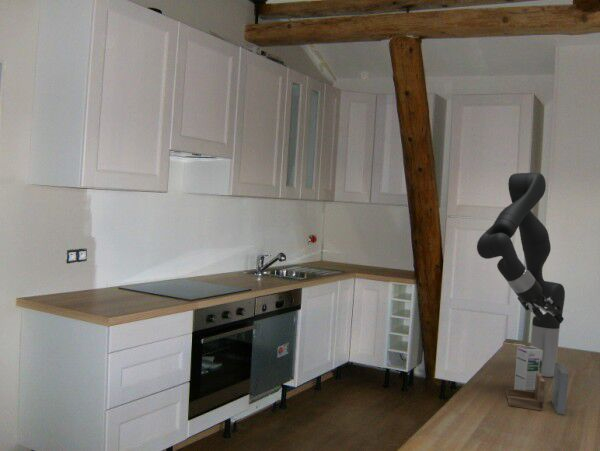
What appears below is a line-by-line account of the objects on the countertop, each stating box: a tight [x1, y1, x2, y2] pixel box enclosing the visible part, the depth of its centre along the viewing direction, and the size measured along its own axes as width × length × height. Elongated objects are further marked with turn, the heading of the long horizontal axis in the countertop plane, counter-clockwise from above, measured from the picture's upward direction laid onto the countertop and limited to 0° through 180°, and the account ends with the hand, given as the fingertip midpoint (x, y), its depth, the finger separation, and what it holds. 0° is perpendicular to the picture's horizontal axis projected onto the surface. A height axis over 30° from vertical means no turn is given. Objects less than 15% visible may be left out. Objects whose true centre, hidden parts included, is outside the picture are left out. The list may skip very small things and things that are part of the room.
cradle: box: [506, 372, 546, 411], centre depth 193 cm, size 10×9×8 cm
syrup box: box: [513, 345, 543, 392], centre depth 205 cm, size 6×6×14 cm
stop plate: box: [551, 362, 569, 416], centre depth 191 cm, size 12×2×12 cm, turn 166°
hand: (551, 319), depth 206 cm, fingers open, 8 cm apart
